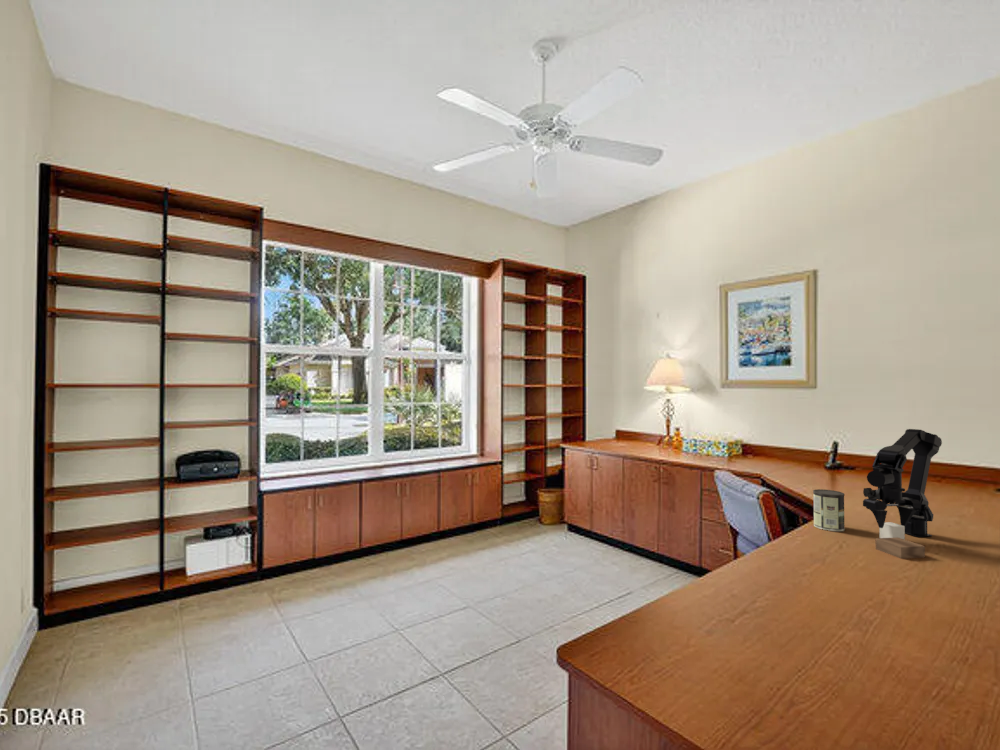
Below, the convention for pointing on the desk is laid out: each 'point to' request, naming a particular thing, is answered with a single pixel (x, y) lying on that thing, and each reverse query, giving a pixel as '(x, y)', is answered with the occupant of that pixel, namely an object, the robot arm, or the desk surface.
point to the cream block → (892, 530)
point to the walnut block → (900, 547)
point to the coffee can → (829, 510)
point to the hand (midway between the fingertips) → (892, 527)
